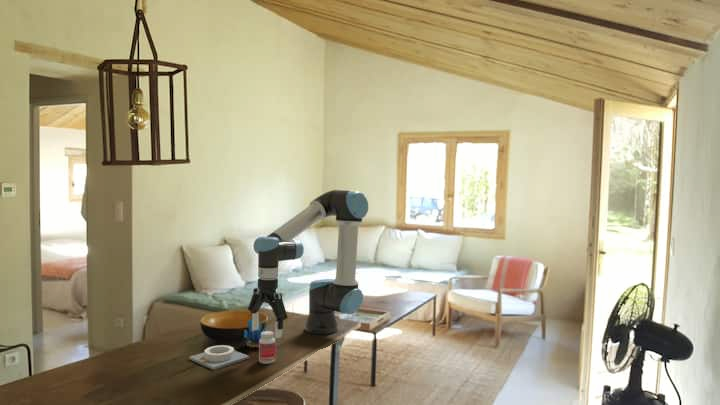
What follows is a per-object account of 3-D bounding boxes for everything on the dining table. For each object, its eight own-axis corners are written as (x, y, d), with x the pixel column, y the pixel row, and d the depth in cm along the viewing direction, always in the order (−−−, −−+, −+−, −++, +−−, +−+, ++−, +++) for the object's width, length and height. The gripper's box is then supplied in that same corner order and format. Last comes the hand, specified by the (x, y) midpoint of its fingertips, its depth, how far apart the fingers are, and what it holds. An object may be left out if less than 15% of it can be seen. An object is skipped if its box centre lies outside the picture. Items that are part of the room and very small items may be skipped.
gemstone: (262, 348, 211) (262, 319, 210) (242, 346, 212) (242, 318, 211) (268, 342, 218) (269, 314, 217) (249, 341, 219) (249, 313, 219)
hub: (224, 348, 209) (224, 340, 209) (249, 358, 199) (249, 349, 198) (189, 359, 197) (189, 350, 196) (213, 370, 186) (213, 360, 186)
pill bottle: (277, 362, 196) (278, 333, 195) (262, 365, 192) (263, 336, 192) (271, 357, 201) (271, 329, 200) (256, 360, 197) (256, 331, 197)
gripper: (239, 274, 200) (238, 328, 201) (282, 284, 184) (280, 343, 185) (254, 272, 206) (253, 324, 206) (297, 281, 190) (296, 338, 190)
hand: (266, 333), depth 196 cm, fingers open, 13 cm apart
